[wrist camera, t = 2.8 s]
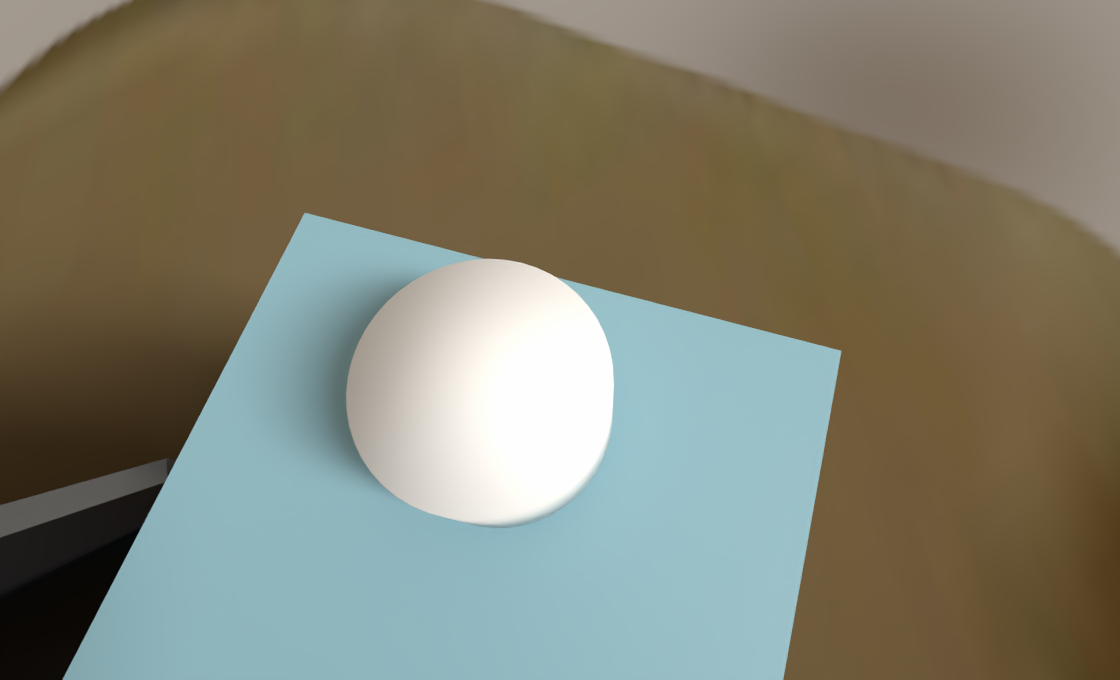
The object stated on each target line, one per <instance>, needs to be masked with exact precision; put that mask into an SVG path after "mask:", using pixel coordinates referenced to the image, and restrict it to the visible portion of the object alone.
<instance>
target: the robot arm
mask: <svg viewBox="0 0 1120 680" xmlns="http://www.w3.org/2000/svg"><path fill="white" fill-rule="evenodd" d="M164 483H165V482H164ZM164 483H161V484H158V485H155V486H152V487H149V488H146V489H143V490H140V491H137V492H134V493H131V494H128V495H125V496H122V497H119V498H116V499H113V500H110V501H107V502H104V503H101V504H98V505H95V506H92V507H89V508H86V509H83V510H80V511H77V512H74V513H71V514H68V515H65V516H63V517H60V518H57V519H54V520H51V521H48V522H45V523H42V524H39V525H36V526H33V527H30V528H27V529H24V530H21V531H18V532H15V533H12V534H9V535H6V536H3V537H0V680H63V678H64V676H65V674H66V672H67V670H68V668H69V666H70V664H71V662H72V660H73V659H74V657H75V655H76V653H77V651H78V649H79V647H80V645H81V643H82V641H83V639H84V637H85V635H86V634H87V632H88V630H89V628H90V626H91V624H92V622H93V620H94V618H95V616H96V614H97V612H98V610H99V608H100V607H101V605H102V603H103V601H104V599H105V597H106V595H107V593H108V591H109V589H110V587H111V585H112V583H113V582H114V580H115V578H116V576H117V574H118V572H119V570H120V568H121V566H122V564H123V562H124V560H125V558H126V556H127V555H128V553H129V551H130V549H131V547H132V545H133V543H134V541H135V539H136V537H137V535H138V533H139V531H140V530H141V528H142V526H143V524H144V522H145V520H146V518H147V516H148V514H149V512H150V510H151V508H152V506H153V504H154V503H155V501H156V499H157V497H158V495H159V493H160V491H161V489H162V487H163V485H164Z"/></svg>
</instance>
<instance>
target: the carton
mask: <svg viewBox="0 0 1120 680" xmlns="http://www.w3.org/2000/svg"><path fill="white" fill-rule="evenodd" d="M840 355H841V351H840V350H836V349H832V348H828V347H824V346H820V345H816V344H812V343H808V342H805V341H801V340H797V339H793V338H789V337H785V336H781V335H777V334H773V333H770V332H766V331H762V330H758V329H754V328H750V327H746V326H742V325H738V324H735V323H731V322H727V321H723V320H719V319H715V318H711V317H707V316H704V315H700V314H696V313H692V312H688V311H684V310H680V309H676V308H672V307H669V306H665V305H661V304H657V303H653V302H649V301H645V300H641V299H637V298H634V297H630V296H626V295H622V294H618V293H614V292H610V291H606V290H602V289H599V288H595V287H591V286H587V285H583V284H579V283H575V282H571V281H567V280H564V279H560V278H556V277H554V276H553V275H551V274H549V273H547V272H545V271H543V270H540V269H538V268H536V267H533V266H530V265H527V264H523V263H519V262H514V261H509V260H499V259H482V258H478V257H474V256H470V255H466V254H463V253H459V252H455V251H451V250H447V249H443V248H439V247H435V246H431V245H428V244H424V243H420V242H416V241H412V240H408V239H404V238H400V237H396V236H393V235H389V234H385V233H381V232H377V231H373V230H369V229H365V228H362V227H358V226H354V225H350V224H346V223H342V222H338V221H334V220H330V219H327V218H323V217H319V216H315V215H311V214H307V213H305V214H304V216H303V218H302V219H301V221H300V223H299V225H298V227H297V229H296V231H295V233H294V235H293V237H292V239H291V241H290V243H289V245H288V246H287V248H286V250H285V252H284V254H283V256H282V258H281V260H280V262H279V264H278V266H277V268H276V270H275V271H274V273H273V275H272V277H271V279H270V281H269V283H268V285H267V287H266V289H265V291H264V293H263V295H262V297H261V298H260V300H259V302H258V304H257V306H256V308H255V310H254V312H253V314H252V316H251V318H250V320H249V322H248V323H247V325H246V327H245V329H244V331H243V333H242V335H241V337H240V339H239V341H238V343H237V345H236V347H235V349H234V350H233V352H232V354H231V356H230V358H229V360H228V362H227V364H226V366H225V368H224V370H223V372H222V374H221V375H220V377H219V379H218V381H217V383H216V385H215V387H214V389H213V391H212V393H211V395H210V397H209V399H208V401H207V402H206V404H205V406H204V408H203V410H202V412H201V414H200V416H199V418H198V420H197V422H196V424H195V426H194V427H193V429H192V431H191V433H190V435H189V437H188V439H187V441H186V443H185V445H184V447H183V449H182V451H181V452H180V454H179V456H178V458H177V460H176V462H175V464H174V466H173V468H172V470H171V472H170V474H169V476H168V478H167V479H166V481H165V483H164V485H163V487H162V489H161V491H160V493H159V495H158V497H157V499H156V501H155V503H154V504H153V506H152V508H151V510H150V512H149V514H148V516H147V518H146V520H145V522H144V524H143V526H142V528H141V530H140V531H139V533H138V535H137V537H136V539H135V541H134V543H133V545H132V547H131V549H130V551H129V553H128V555H127V556H126V558H125V560H124V562H123V564H122V566H121V568H120V570H119V572H118V574H117V576H116V578H115V580H114V582H113V583H112V585H111V587H110V589H109V591H108V593H107V595H106V597H105V599H104V601H103V603H102V605H101V607H100V608H99V610H98V612H97V614H96V616H95V618H94V620H93V622H92V624H91V626H90V628H89V630H88V632H87V634H86V635H85V637H84V639H83V641H82V643H81V645H80V647H79V649H78V651H77V653H76V655H75V657H74V659H73V660H72V662H71V664H70V666H69V668H68V670H67V672H66V674H65V676H64V678H63V680H783V677H784V671H785V666H786V660H787V654H788V649H789V643H790V638H791V632H792V626H793V621H794V615H795V609H796V604H797V598H798V592H799V587H800V581H801V575H802V570H803V564H804V558H805V553H806V547H807V542H808V536H809V530H810V525H811V519H812V513H813V508H814V502H815V496H816V491H817V485H818V479H819V474H820V468H821V462H822V457H823V451H824V446H825V440H826V434H827V429H828V423H829V417H830V412H831V406H832V400H833V395H834V389H835V383H836V378H837V372H838V366H839V361H840Z"/></svg>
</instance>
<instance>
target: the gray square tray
mask: <svg viewBox="0 0 1120 680" xmlns="http://www.w3.org/2000/svg"><path fill="white" fill-rule="evenodd" d="M175 462H176V460H172V459H168V458H166V459H162V460H159V461H155V462H152V463H148V464H145V465H141V466H137V467H134V468H130V469H127V470H123V471H120V472H116V473H113V474H109V475H106V476H102V477H99V478H95V479H91V480H88V481H84V482H81V483H77V484H74V485H70V486H67V487H63V488H60V489H56V490H52V491H49V492H45V493H42V494H38V495H35V496H31V497H28V498H24V499H21V500H17V501H14V502H10V503H6V504H3V505H0V537H3V536H6V535H9V534H12V533H15V532H18V531H21V530H24V529H27V528H30V527H33V526H36V525H39V524H42V523H45V522H48V521H51V520H54V519H57V518H60V517H63V516H65V515H68V514H71V513H74V512H77V511H80V510H83V509H86V508H89V507H92V506H95V505H98V504H101V503H104V502H107V501H110V500H113V499H116V498H119V497H122V496H125V495H128V494H131V493H134V492H137V491H140V490H143V489H146V488H149V487H152V486H155V485H158V484H161V483H164V482H165V481H166V479H167V478H168V476H169V474H170V472H171V470H172V468H173V466H174V464H175Z"/></svg>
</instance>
